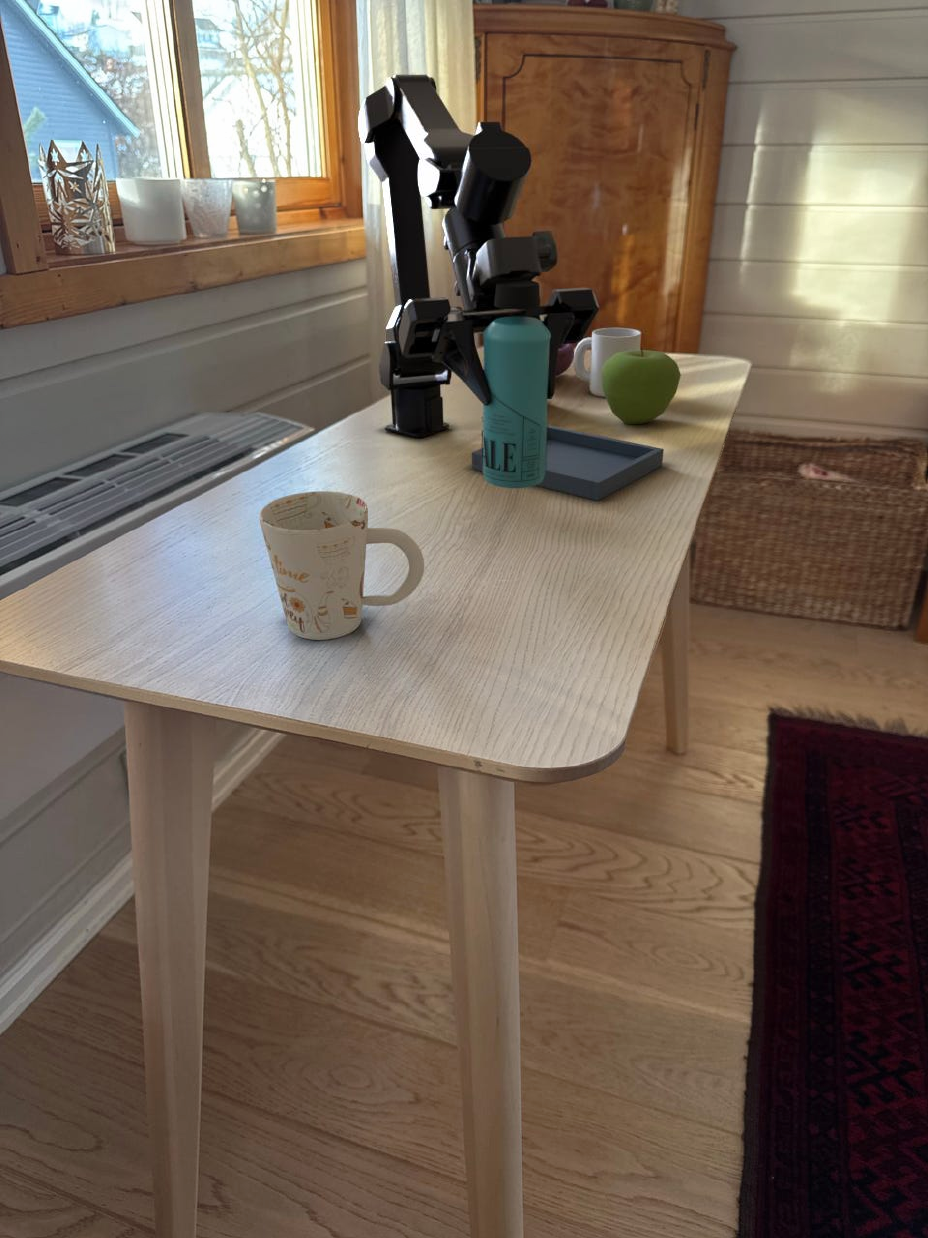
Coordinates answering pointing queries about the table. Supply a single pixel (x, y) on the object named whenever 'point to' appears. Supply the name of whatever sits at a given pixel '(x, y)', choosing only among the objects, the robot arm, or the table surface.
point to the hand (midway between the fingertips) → (519, 400)
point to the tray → (590, 463)
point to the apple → (639, 384)
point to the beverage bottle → (516, 390)
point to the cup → (603, 353)
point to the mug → (328, 561)
